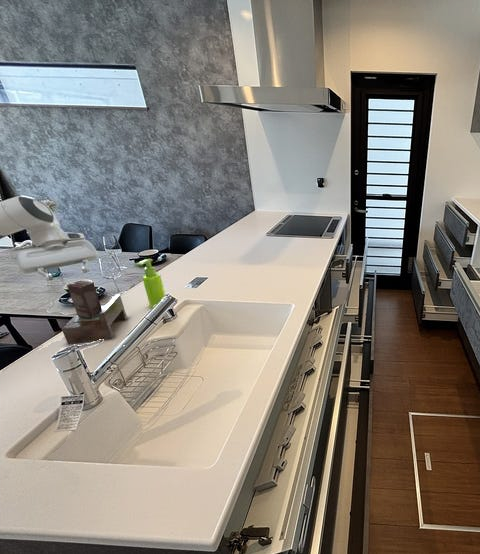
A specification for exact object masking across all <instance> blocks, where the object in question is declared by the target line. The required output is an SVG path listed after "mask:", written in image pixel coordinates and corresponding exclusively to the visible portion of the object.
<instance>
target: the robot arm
mask: <svg viewBox="0 0 480 554" xmlns="http://www.w3.org/2000/svg"><path fill="white" fill-rule="evenodd" d="M23 230H26V231H27V232H28V234H29V239H30V241H31V242H32V245H26V246H22V247H21V246H20V247H15V248H14V249H12V250H11V251H10V256H11V258H12V259H13V260H15V261H16V262H17V265H18V268H19V270H20V272H21V273H23V274H32V273H36V272H37V273H38V275H40V276H42V277H43V278H44V277H45V279H46V281H48V282H49V281H53V280H54V276H53V274H52V273H47V272H45V271H46V270H52V269H57V268H62V267H69V266H72V265H73V266H74V265H78V264H83V266H81V271H82V273H83V274H86V273H90V270H89V262H93V261H97V260H98V258H99V253H98V251H97V249H96V248H95V246H94V244H92V242H91V241H90V240H88V239H86V236H85V234H83V233H80V232H69V231H65V230H63V229H62V228H61V224H60V221H59V220H58V218H57V216H56V215H55V213H54V212H53V210H52V209H51V208H50V207H49V206H48V205H47V204H46V203H45V202H44V201H41V200H39V199H36V198H33V197H31V196H26V195H18V196H14V197H11V198H7V199H5V200H2V201H0V240H2V239H3V238H6V237H9V236H10V235H13V234H15V233H18V232H20V231H21V232H22V231H23Z"/></svg>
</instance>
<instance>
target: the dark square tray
mask: <svg viewBox="0 0 480 554" xmlns="http://www.w3.org/2000/svg"><path fill="white" fill-rule="evenodd" d="M101 308H102V310H101V311H100V312H99V313H98V315H99V316H98V317H96V318H94V319H87V318H82V317H78V315H77V313H76V314H75V315H74V316H73V317H72V318H71V319H70V320H69V321H68V322H66V324H65V325H64V326H63V327H62V328H61V331H62V333H63V336H64V339H65V341H66V343H67V345H73V344H80V343H81V344H82V343H90V342H97V341H96V340H99V339H104V340H103V341H105V340H106V341H107V340H113V339H114V332H113V330H112V326H111V325H112V324H113V322H120V321H126V320H127V319H128V316H127V312H126V309H125V305H124V303H123V300H122V297H121V294H115V295H113V297H112V298H110V300H109V301H108V303H106V304H105V305H101ZM99 341H100V340H99Z"/></svg>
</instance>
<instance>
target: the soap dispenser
mask: <svg viewBox="0 0 480 554" xmlns="http://www.w3.org/2000/svg"><path fill="white" fill-rule="evenodd" d="M153 261H154V260H153V259H152V258H145V259H142V260H140V261H138V262H136V265H137V266H143V265H145V267H143V270H144V275H143V276H142V277H141V279H142V282H143V285H144V289H145V293H146V296H147V300H148V304H149V308H151V309H153V306H154V305H155V304H157V303H158V302H159V301H160V300H161V299H162V298H163V297H164V296H166V292H165V289H164V285H163V280H162V276H161V274H160V273H157V271H156V267H155V266H154V265H152V262H153Z"/></svg>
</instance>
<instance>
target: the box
mask: <svg viewBox="0 0 480 554" xmlns="http://www.w3.org/2000/svg"><path fill="white" fill-rule="evenodd" d="M66 286H67V289H68V292H69V295H70V298H71V301H72V303H73V307H74V309H75V312H76V314H77V315H78V317H82V318H87V319H94V318H96V317H98V316H99V315H98V313H99V312H100V311H101V310H102V308H101V306H102V305H101V302H100V299H99V296H98V293H97V290H96V286H95V284H94V282H91V281H84V280H78V281H75V282H70V283H69V284H66Z"/></svg>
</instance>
